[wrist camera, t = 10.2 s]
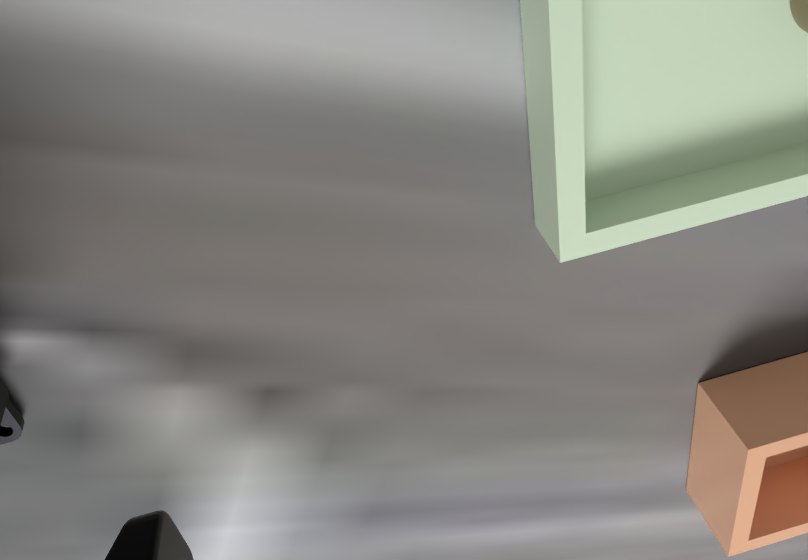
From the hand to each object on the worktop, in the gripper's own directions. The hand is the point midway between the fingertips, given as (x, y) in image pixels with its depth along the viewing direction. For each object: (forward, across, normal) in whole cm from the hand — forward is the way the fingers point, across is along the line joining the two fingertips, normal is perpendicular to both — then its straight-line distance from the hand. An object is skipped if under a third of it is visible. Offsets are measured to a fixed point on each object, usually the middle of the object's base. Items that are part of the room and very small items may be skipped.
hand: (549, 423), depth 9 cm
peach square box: (+13, -14, +20) cm, 28 cm away
